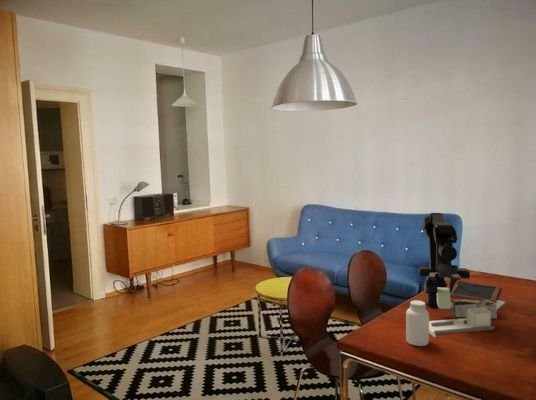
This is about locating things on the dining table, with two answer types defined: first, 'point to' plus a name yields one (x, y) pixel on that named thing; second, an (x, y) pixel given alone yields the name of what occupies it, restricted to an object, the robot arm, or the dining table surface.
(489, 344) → the dining table surface
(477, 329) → the shelf
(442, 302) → the pale green box
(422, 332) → the pill bottle
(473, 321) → the faced box
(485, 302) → the coffee box
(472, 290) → the picture frame
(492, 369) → the dining table surface
